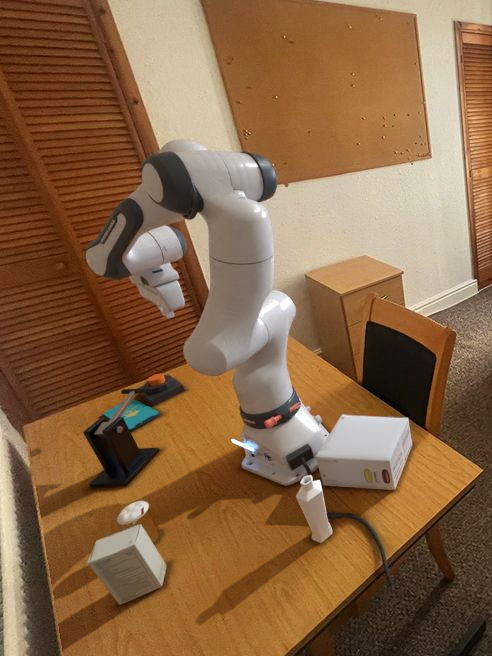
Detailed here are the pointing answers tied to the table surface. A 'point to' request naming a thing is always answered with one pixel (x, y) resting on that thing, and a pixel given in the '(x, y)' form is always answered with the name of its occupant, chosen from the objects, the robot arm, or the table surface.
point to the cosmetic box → (128, 564)
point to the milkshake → (139, 518)
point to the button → (156, 379)
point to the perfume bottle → (314, 508)
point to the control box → (162, 390)
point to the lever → (120, 409)
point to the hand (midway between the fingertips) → (169, 316)
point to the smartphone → (134, 414)
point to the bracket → (117, 454)
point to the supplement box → (365, 452)
